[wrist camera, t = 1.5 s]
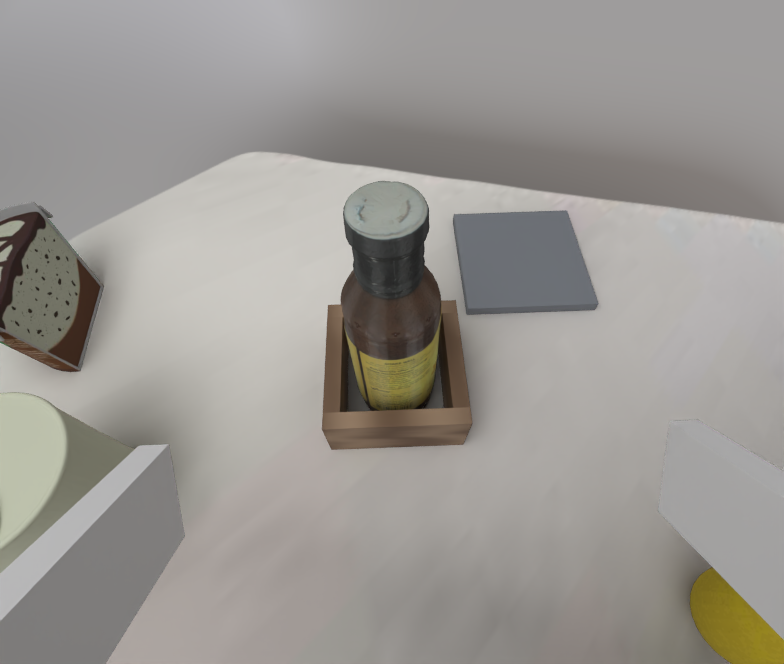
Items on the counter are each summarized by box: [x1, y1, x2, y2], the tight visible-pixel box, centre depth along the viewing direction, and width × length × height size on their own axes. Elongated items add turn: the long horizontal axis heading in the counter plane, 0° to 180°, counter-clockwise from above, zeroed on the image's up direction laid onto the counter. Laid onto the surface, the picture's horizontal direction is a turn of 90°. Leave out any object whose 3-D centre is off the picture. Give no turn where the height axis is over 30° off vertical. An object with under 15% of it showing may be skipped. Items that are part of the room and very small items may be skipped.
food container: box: [0, 202, 104, 372], centre depth 36 cm, size 12×6×10 cm, turn 7°
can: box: [0, 392, 135, 573], centre depth 27 cm, size 9×9×12 cm
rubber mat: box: [453, 211, 598, 315], centre depth 43 cm, size 12×12×1 cm
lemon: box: [690, 567, 784, 664], centre depth 25 cm, size 6×6×8 cm
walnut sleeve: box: [322, 300, 472, 450], centre depth 35 cm, size 10×10×5 cm
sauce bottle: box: [341, 181, 442, 411], centre depth 28 cm, size 6×6×20 cm
